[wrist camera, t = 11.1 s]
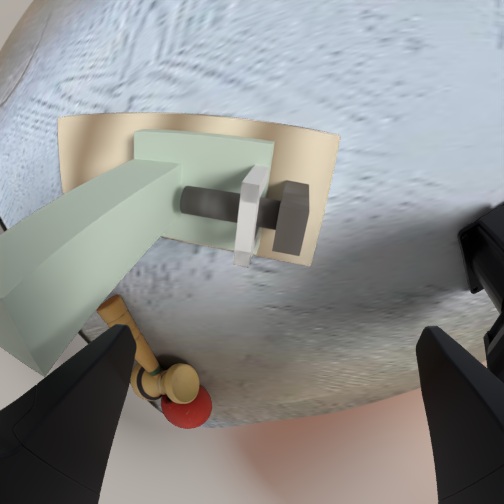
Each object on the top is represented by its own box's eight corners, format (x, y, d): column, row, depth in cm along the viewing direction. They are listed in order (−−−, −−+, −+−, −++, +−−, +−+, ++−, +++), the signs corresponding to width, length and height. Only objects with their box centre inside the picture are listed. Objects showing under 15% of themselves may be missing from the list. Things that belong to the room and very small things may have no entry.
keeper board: (338, 134, 16) (352, 149, 11) (310, 259, 21) (309, 310, 16) (65, 115, 18) (15, 129, 13) (73, 213, 23) (32, 242, 18)
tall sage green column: (274, 141, 16) (165, 299, 4) (259, 245, 20) (190, 457, 7) (143, 128, 17) (-59, 219, 5) (145, 224, 20) (10, 368, 8)
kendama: (99, 298, 30) (179, 407, 34) (69, 326, 24) (167, 442, 28) (148, 275, 28) (229, 397, 33) (120, 303, 22) (222, 436, 27)
